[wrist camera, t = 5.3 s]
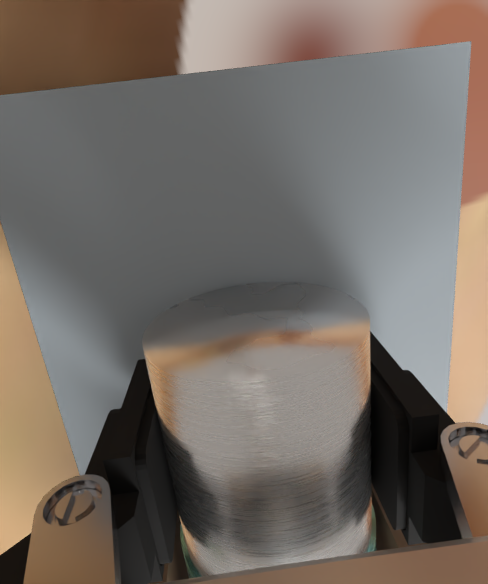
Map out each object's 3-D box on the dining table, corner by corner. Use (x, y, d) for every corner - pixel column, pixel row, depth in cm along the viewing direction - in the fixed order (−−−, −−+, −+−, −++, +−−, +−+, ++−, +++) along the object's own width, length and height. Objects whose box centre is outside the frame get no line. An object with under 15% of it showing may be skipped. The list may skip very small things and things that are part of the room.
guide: (147, 476, 14) (113, 653, 9) (383, 444, 14) (470, 600, 9) (164, 544, 15) (140, 734, 10) (383, 513, 15) (461, 684, 10)
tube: (154, 294, 11) (111, 402, 7) (336, 271, 11) (421, 360, 7) (221, 633, 16) (224, 835, 11) (348, 613, 16) (404, 806, 12)
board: (-15, 103, 11) (-38, 99, 10) (448, 50, 11) (470, 41, 10) (148, 656, 18) (145, 684, 17) (420, 615, 18) (431, 640, 17)
